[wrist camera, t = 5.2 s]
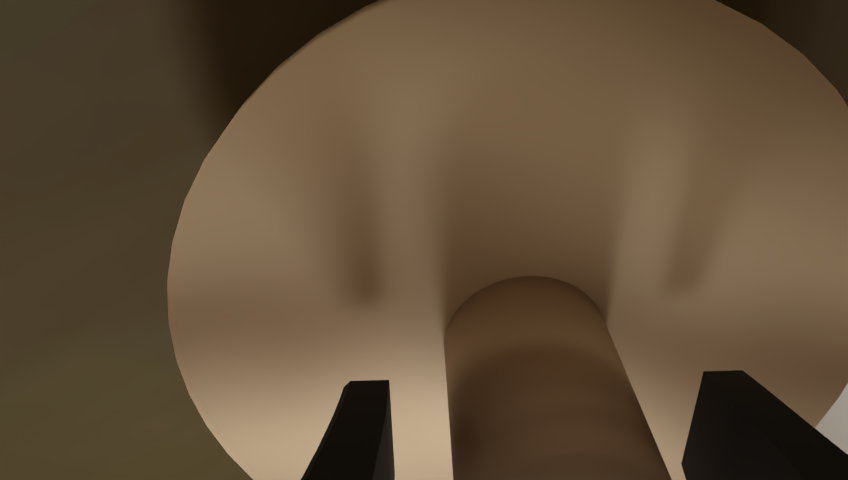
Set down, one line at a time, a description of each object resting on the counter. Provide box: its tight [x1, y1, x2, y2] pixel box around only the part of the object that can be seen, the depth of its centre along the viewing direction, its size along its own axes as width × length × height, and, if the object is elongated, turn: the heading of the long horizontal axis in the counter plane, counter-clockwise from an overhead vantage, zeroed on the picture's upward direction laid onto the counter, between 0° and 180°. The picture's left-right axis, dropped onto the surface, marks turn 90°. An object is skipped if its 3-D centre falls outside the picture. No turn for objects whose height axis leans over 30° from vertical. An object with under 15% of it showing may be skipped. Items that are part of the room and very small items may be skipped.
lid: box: [167, 0, 848, 480], centre depth 11 cm, size 13×13×5 cm
